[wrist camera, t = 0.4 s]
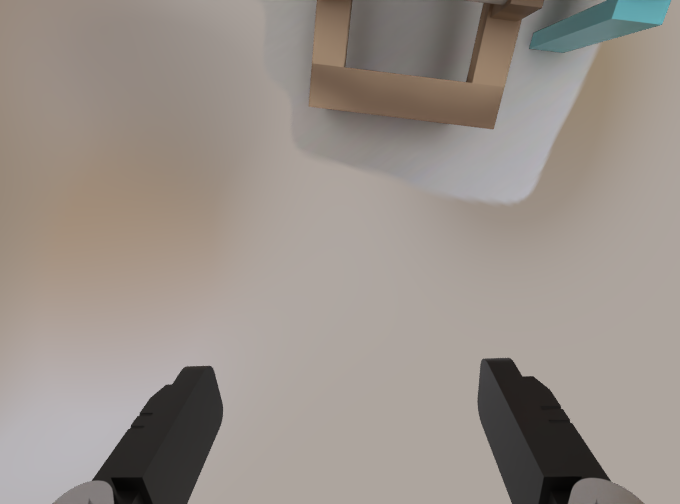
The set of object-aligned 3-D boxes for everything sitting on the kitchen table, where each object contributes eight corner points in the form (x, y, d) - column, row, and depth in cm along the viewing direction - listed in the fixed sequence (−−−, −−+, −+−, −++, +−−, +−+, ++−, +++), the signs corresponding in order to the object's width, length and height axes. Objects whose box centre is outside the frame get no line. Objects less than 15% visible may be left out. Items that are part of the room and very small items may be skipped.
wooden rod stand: (341, -77, 29) (326, -246, 16) (488, -59, 29) (606, -211, 15) (324, 107, 35) (301, 105, 21) (449, 123, 35) (511, 131, 21)
